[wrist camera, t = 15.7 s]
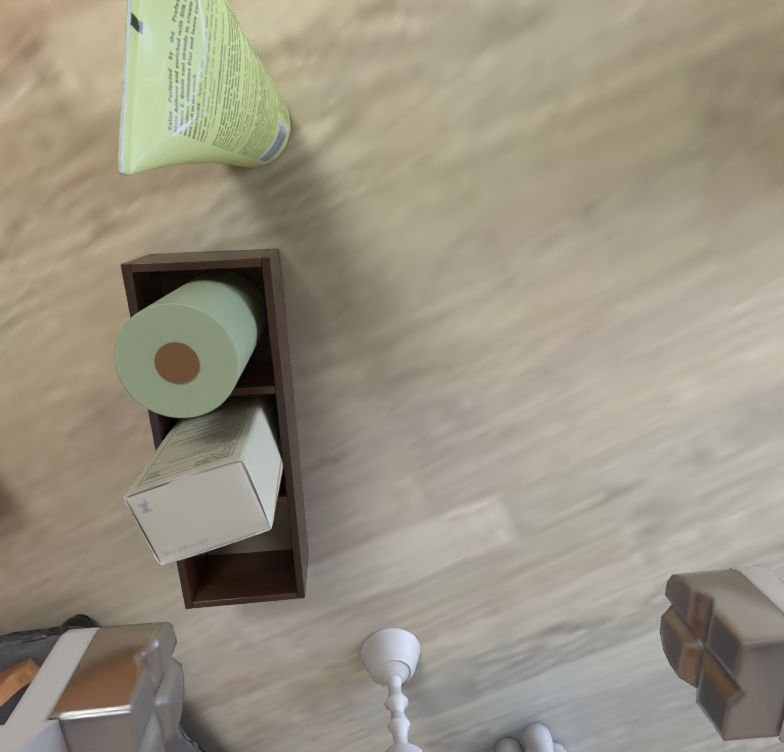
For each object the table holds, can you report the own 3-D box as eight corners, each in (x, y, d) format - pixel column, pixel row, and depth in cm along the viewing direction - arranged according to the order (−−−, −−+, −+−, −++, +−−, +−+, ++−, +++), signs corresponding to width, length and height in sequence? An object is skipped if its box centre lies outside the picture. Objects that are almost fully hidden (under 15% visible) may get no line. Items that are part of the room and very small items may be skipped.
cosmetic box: (209, 459, 39) (155, 570, 28) (183, 404, 38) (116, 497, 26) (293, 433, 39) (274, 534, 28) (271, 377, 38) (242, 458, 26)
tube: (181, 95, 32) (-36, -39, 13) (254, 47, 31) (136, -162, 13) (238, 185, 34) (118, 176, 15) (309, 140, 33) (273, 75, 15)
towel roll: (262, 268, 35) (230, 300, 25) (271, 352, 37) (245, 415, 27) (172, 272, 35) (101, 306, 24) (186, 356, 37) (125, 422, 26)
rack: (279, 248, 35) (270, 257, 30) (308, 553, 42) (305, 598, 38) (149, 254, 34) (120, 263, 30) (202, 562, 42) (185, 609, 37)
